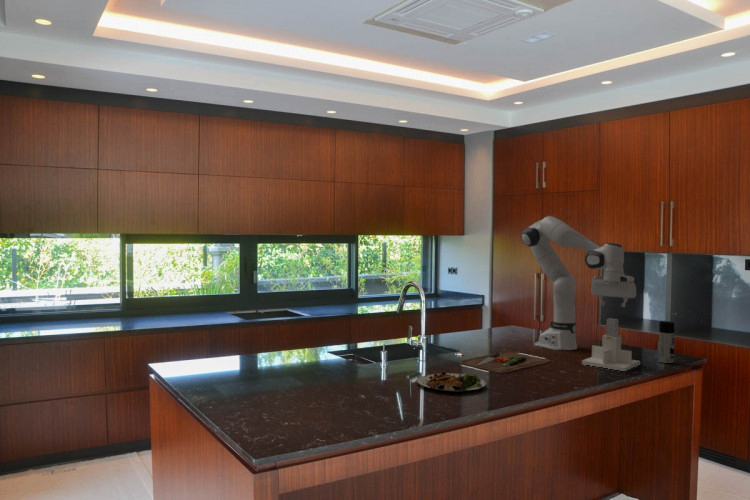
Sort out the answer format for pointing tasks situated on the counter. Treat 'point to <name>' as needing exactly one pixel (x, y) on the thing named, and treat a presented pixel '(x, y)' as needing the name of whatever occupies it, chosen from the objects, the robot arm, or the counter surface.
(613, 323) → the column
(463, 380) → the plate of food
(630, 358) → the stand
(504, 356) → the chopping board
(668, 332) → the spray can
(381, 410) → the counter surface
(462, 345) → the counter surface
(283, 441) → the counter surface
